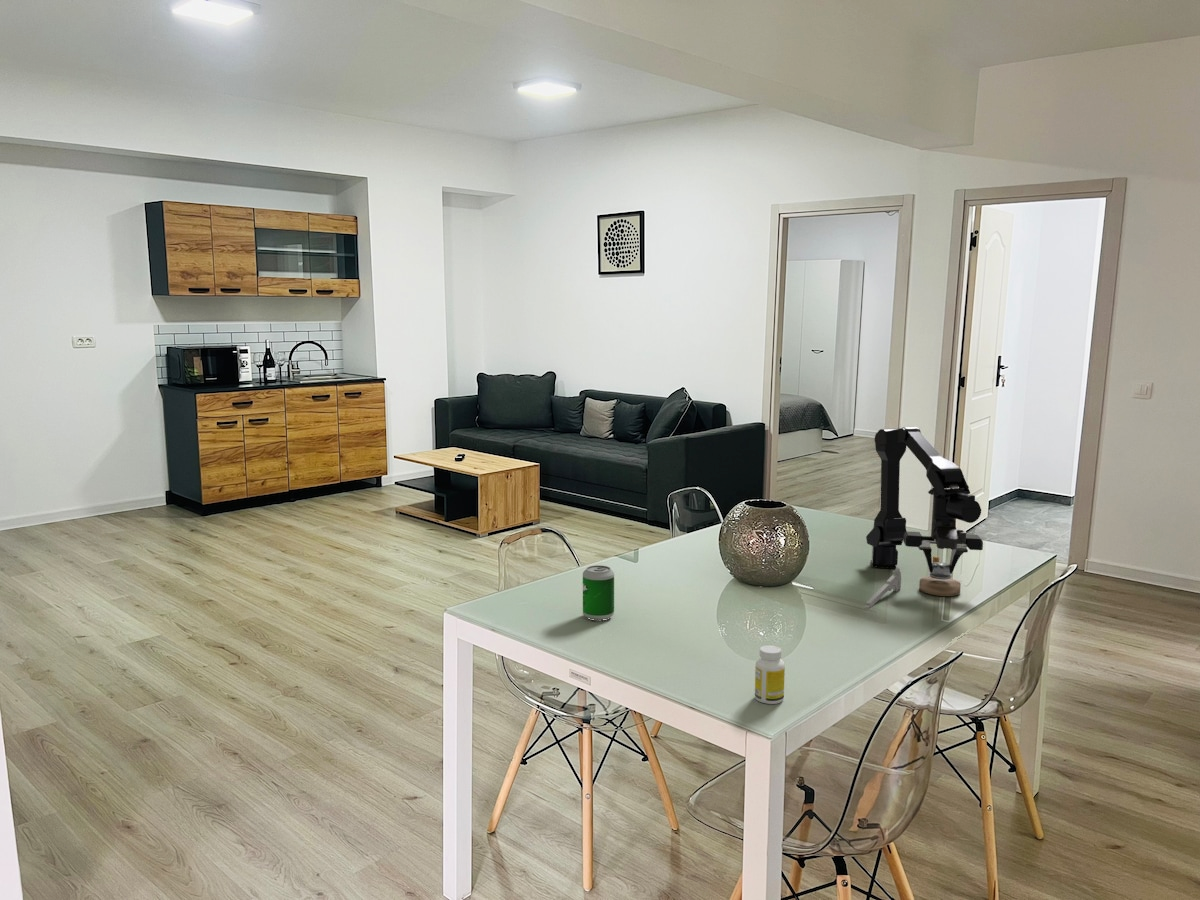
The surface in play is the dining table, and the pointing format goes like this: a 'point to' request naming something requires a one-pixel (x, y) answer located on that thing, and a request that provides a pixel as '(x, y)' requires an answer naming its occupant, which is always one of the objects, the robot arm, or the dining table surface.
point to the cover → (940, 570)
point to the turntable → (939, 585)
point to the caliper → (886, 588)
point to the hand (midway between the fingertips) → (940, 572)
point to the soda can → (598, 592)
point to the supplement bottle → (769, 676)
